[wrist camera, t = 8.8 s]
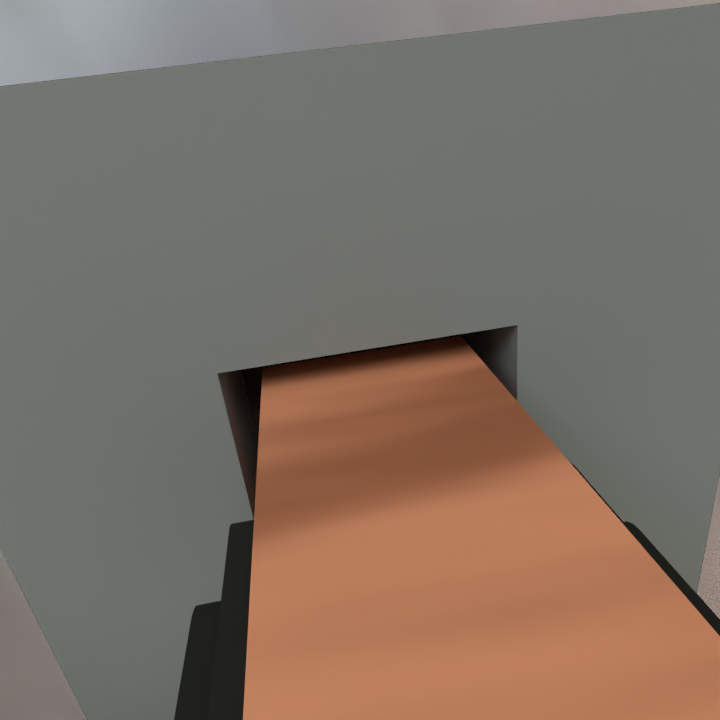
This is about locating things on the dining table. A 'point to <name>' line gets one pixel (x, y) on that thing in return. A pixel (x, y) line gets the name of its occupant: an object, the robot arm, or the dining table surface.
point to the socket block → (342, 291)
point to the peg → (448, 560)
